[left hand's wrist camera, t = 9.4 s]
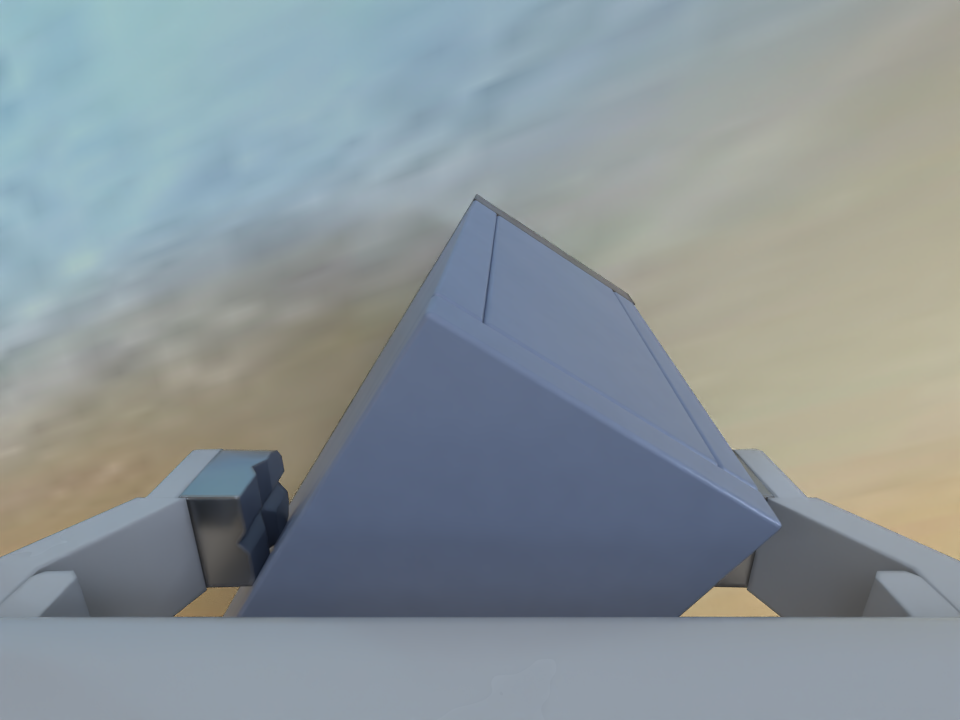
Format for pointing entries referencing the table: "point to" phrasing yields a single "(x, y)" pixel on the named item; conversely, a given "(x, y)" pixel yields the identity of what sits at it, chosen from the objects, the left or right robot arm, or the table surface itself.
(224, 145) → the table surface
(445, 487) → the cabinet
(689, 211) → the table surface
